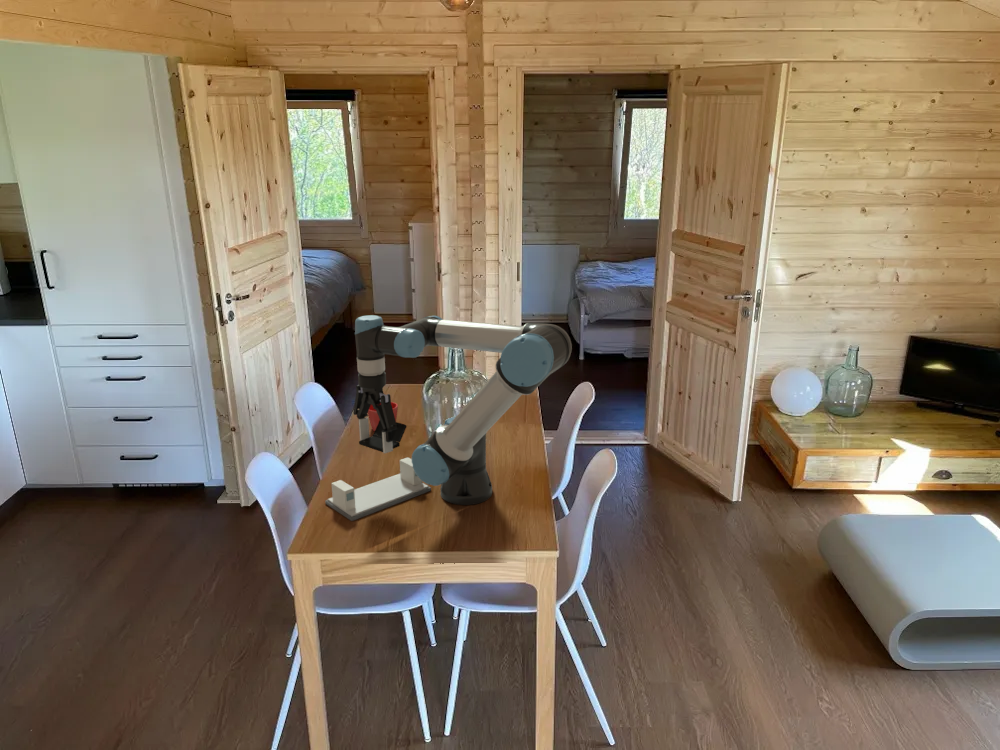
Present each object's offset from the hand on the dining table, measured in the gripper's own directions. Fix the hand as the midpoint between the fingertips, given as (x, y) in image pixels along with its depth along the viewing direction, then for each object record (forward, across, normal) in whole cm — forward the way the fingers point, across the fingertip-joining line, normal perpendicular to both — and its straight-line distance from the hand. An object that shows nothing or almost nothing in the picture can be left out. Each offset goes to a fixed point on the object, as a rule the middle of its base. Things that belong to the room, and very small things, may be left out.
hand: (376, 445), depth 205 cm
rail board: (+16, 0, 0) cm, 16 cm away
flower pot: (+16, +43, -30) cm, 54 cm away
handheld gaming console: (+2, 0, 0) cm, 2 cm away
